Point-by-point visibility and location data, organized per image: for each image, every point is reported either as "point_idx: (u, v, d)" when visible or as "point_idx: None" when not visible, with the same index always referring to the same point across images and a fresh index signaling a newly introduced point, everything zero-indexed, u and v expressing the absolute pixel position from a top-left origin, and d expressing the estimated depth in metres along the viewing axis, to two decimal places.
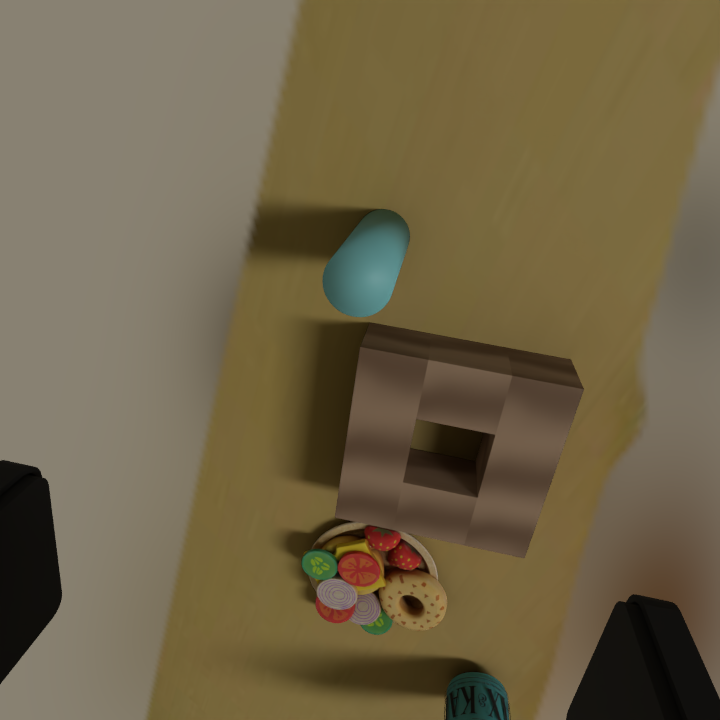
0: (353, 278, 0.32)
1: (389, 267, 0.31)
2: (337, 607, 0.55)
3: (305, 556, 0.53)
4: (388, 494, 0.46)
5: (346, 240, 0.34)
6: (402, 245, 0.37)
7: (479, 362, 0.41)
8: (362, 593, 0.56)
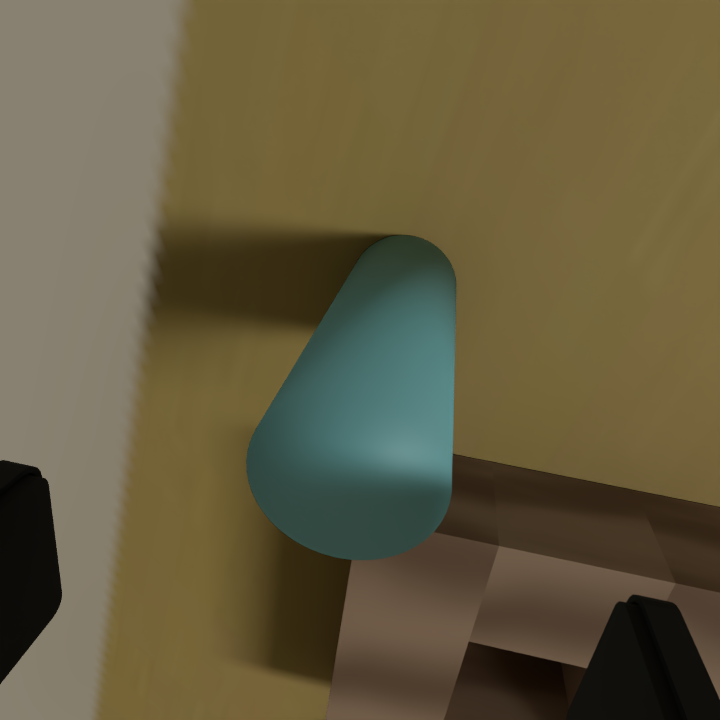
0: (332, 468, 0.11)
1: (441, 443, 0.10)
2: None
3: None
4: None
5: (320, 331, 0.14)
6: (452, 326, 0.16)
7: (600, 543, 0.21)
8: None
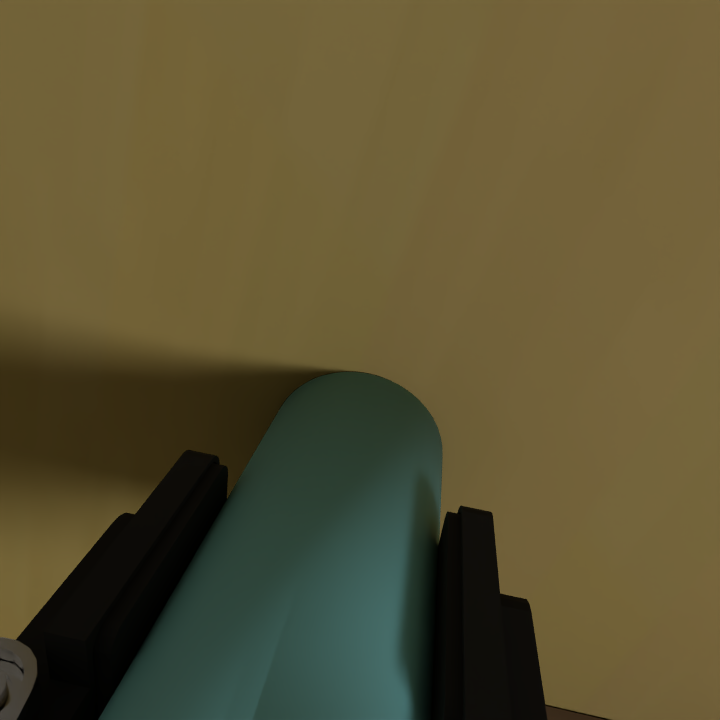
0: None
1: None
2: None
3: None
4: None
5: None
6: (429, 626, 0.08)
7: None
8: None
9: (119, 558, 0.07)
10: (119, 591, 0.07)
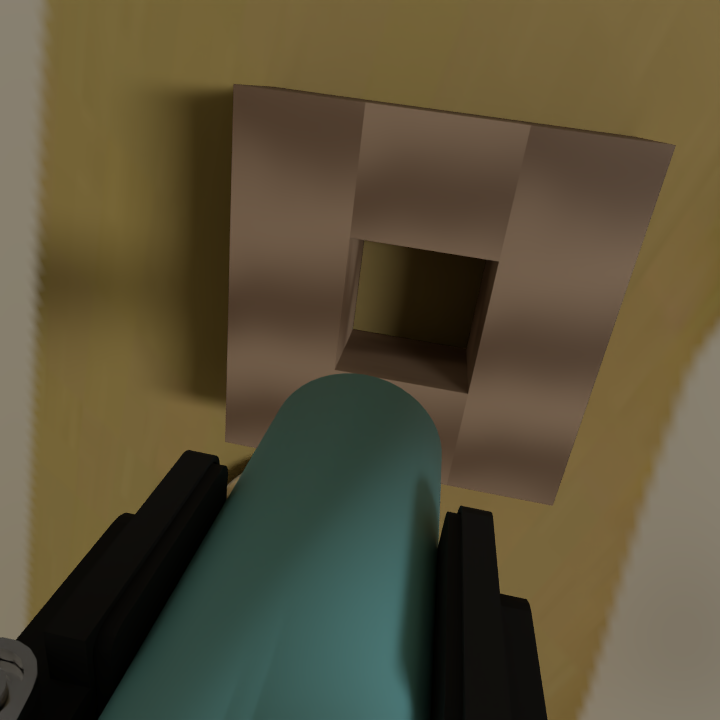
0: None
1: None
2: None
3: None
4: None
5: None
6: (428, 628, 0.08)
7: (466, 115, 0.21)
8: None
9: (119, 558, 0.07)
10: (119, 591, 0.07)
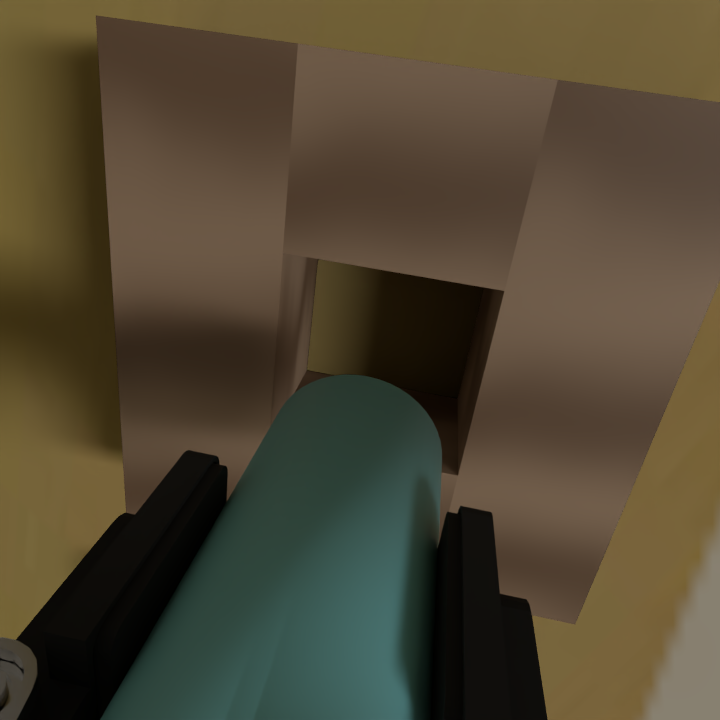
0: None
1: None
2: None
3: None
4: (237, 469, 0.19)
5: None
6: (429, 631, 0.08)
7: None
8: None
9: (119, 558, 0.07)
10: (119, 591, 0.07)
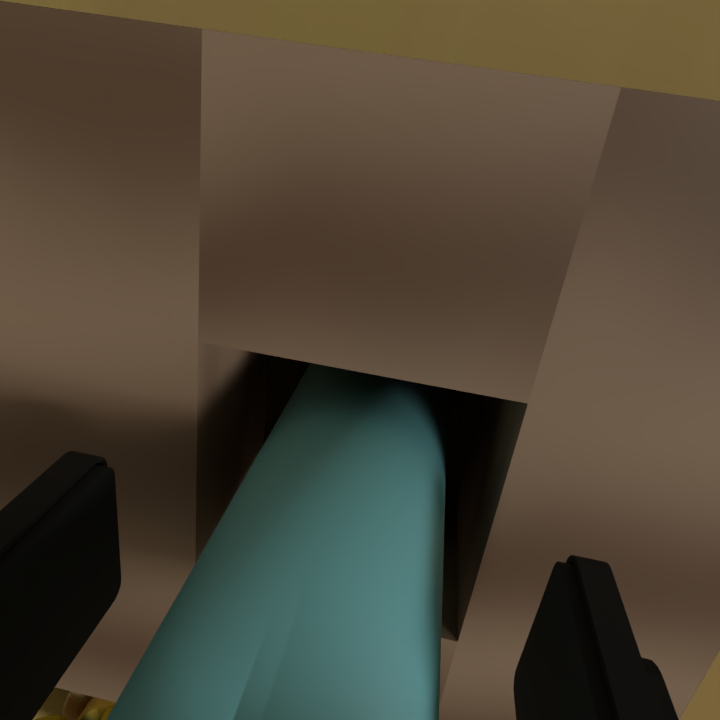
0: None
1: None
2: None
3: None
4: (155, 617, 0.14)
5: (208, 561, 0.08)
6: (440, 496, 0.11)
7: None
8: None
9: None
10: None
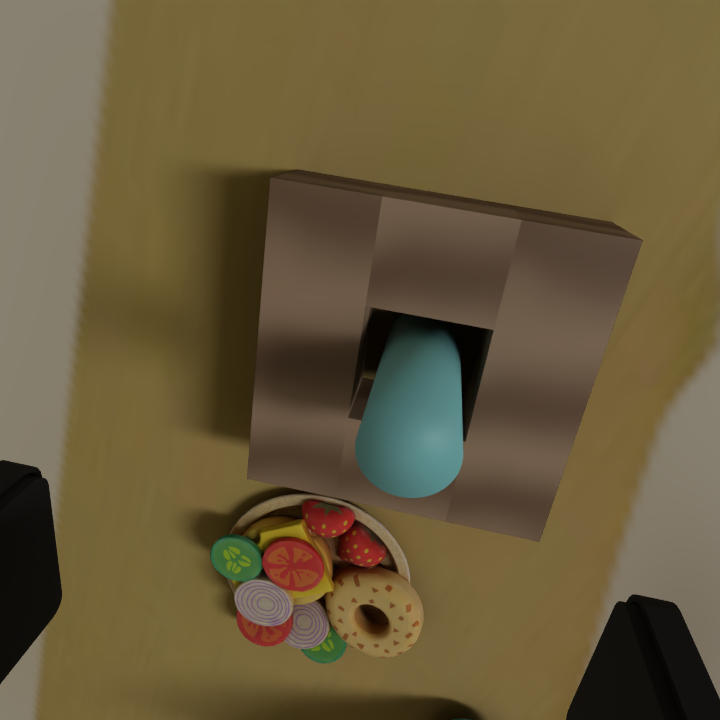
0: (401, 445, 0.21)
1: (458, 432, 0.21)
2: (264, 622, 0.38)
3: (215, 545, 0.36)
4: (326, 438, 0.29)
5: (386, 373, 0.24)
6: (459, 369, 0.27)
7: (467, 207, 0.25)
8: (301, 602, 0.38)
9: None
10: None
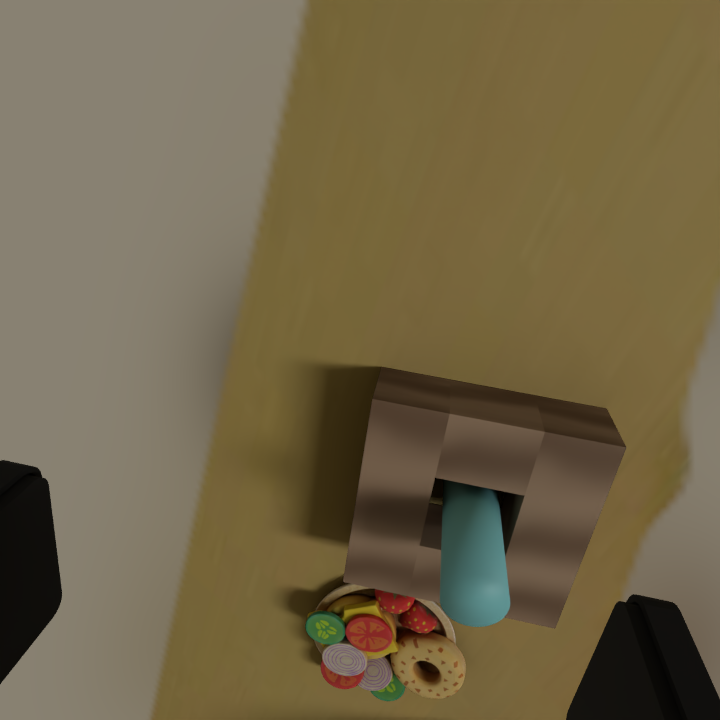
0: (470, 597, 0.33)
1: (507, 590, 0.32)
2: (345, 673, 0.50)
3: (310, 619, 0.49)
4: (402, 557, 0.41)
5: (454, 535, 0.36)
6: (500, 519, 0.38)
7: (507, 415, 0.37)
8: (372, 657, 0.51)
9: None
10: None
